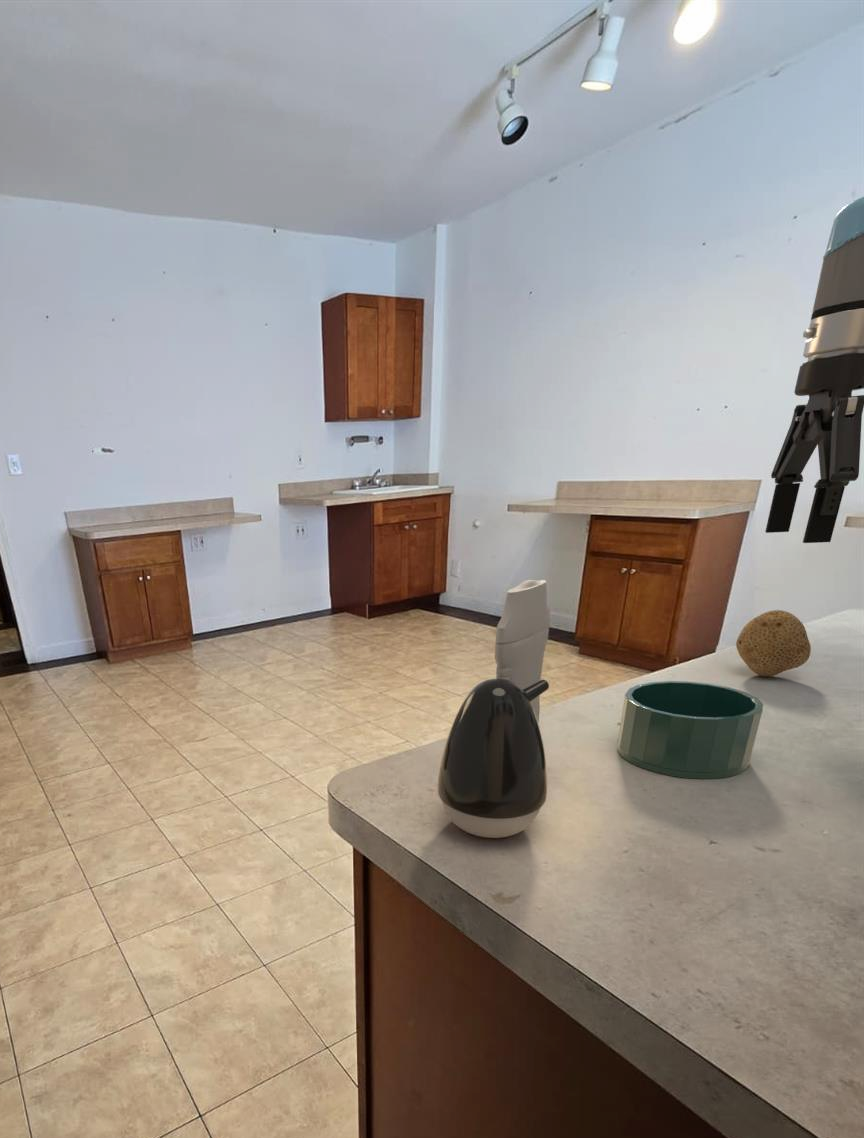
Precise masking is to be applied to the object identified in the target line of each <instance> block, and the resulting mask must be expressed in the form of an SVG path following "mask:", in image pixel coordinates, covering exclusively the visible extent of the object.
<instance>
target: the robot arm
mask: <svg viewBox="0 0 864 1138" xmlns="http://www.w3.org/2000/svg"><path fill="white" fill-rule="evenodd" d="M826 245H827V246H826V249H825V252H824V255H823V257H822V264H821V265H822V266H821V269H820V274H819V278H818V283H817V287H816V288H817V289H816V293H815V298H814V303H813V307H812V313H811V317H810V322H809V326H808V328H806V329H805V330H804V331H803V332H802V338H805V339H806V340H805V344H804V349H803V353H802V356H803V358H805V359H807V361H806V362H803V363H802V364H801V365H800V366H799V369H798V374H797V378H796V383H795V387H794V395H795V396H797V397H805V396H806V397H807V396H808V400H807V403H806V404H796V406H795V408H794V409H793V415H792V419H791V422H790V425H789V428H788V430H787V433H786V436H785V438H784V441H783V444H782V445H781V448H780V451H779V454H778V456H777V459H776V461H775V464H774V466H773V469H772V471H771V476H770V477H771V479H774V484H775V486H774V490H773V496H772V500H771V504H770V509H769V513H768V518H767V522H766V526H765V533H766V534H770V533H771V534H772V533H789V532H790V529H791V524H792V519H793V515H794V511H795V507H796V502H797V499H798V494H799V490H800V487H801V483H803V482H804V477H803V471H804V470H805V468H806V466H807V464H808V463H809V461H810V459H811V457H812V456H813V454H814V452H815V450H816V448H817V449H818V450H817V453H818V460H819V461H818V464H819V474H820V475H819V476H820V478H819V479H818V480H817V481H816V482H815V484H814V485H813V487H814V489H815V491H814V495H813V499H812V503H811V507H810V510H809V511H810V512H809V515H808V518H807V519H808V520H807V523H806V527H805V531H804V534H803V535H804V536H803V539H802V543H803V544H816V543H817V544H818V543H820V544H821V543H831V541H832V537H833V533H834V531H835V530H834V529H835V526H836V522H837V518H838V515H839V511H840V507H841V504H842V500H843V496H844V492H845V488H846V487H847V486H848V485H849V484H850V482H855V481H857V479H858V478H859V475H860V462H861V461H860V458H861V442H862V441H861V439H862V421H863V412H864V394H862V395H861V394H860V395H853V391H860V390H864V196H861V197H858V198H857V199H854V200H853V201H850V202H849V203H847V204H846V205H845V206H843V207H842V208H841V209H840V210H839V212H838V213H837V214H836V216H835V217H834V220H833V224H832V228H831V231H830V234H829V238H828V242H827V244H826Z"/></svg>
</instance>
